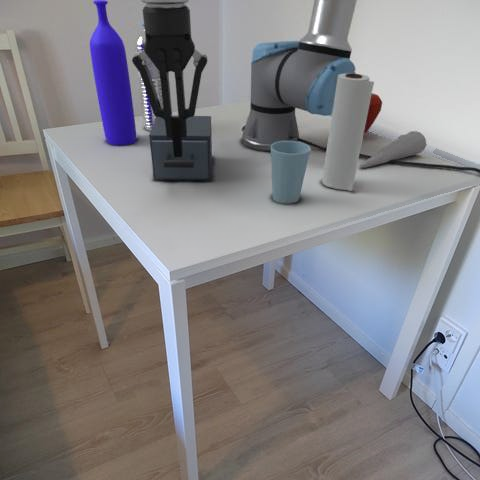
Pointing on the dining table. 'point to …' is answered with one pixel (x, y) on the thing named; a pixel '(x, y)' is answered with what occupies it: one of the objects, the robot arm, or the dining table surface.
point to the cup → (288, 170)
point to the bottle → (112, 81)
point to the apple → (373, 111)
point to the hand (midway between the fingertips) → (178, 154)
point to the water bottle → (154, 72)
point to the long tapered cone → (398, 149)
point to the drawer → (180, 159)
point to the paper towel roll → (346, 130)
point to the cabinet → (195, 131)
